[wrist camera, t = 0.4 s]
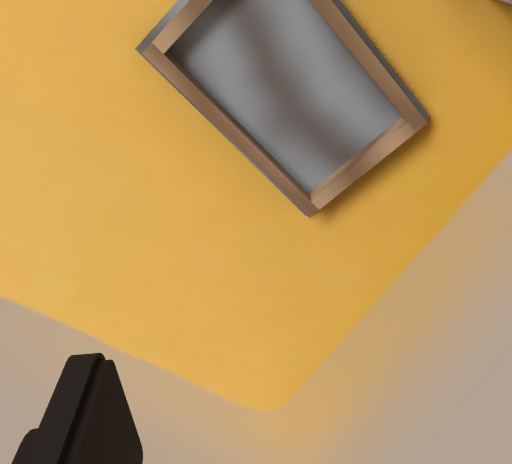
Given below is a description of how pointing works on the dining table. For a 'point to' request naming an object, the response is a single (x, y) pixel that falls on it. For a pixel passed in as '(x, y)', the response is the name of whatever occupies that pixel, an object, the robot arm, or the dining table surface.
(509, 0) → the food container
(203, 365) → the dining table surface
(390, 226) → the dining table surface
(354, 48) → the board
